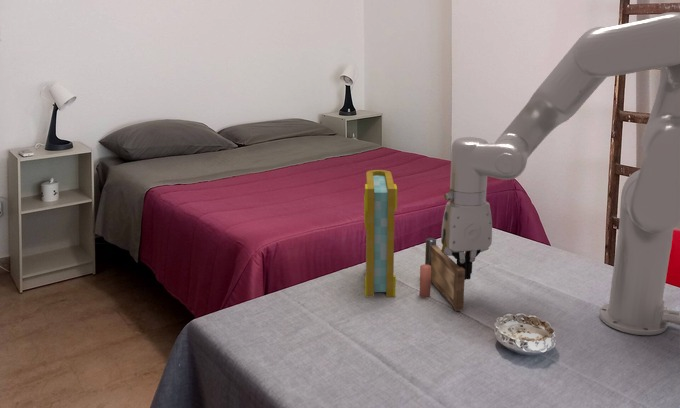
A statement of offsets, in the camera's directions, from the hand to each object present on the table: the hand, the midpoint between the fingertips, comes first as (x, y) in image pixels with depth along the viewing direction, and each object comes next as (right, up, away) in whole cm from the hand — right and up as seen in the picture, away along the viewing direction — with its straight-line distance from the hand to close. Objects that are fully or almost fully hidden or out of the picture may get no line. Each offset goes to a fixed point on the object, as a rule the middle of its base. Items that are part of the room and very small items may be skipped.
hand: (463, 277), depth 135 cm
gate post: (-6, -2, +12) cm, 13 cm away
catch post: (-8, -4, +3) cm, 10 cm away
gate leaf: (-4, -4, +3) cm, 6 cm away
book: (-18, -2, +11) cm, 21 cm away
